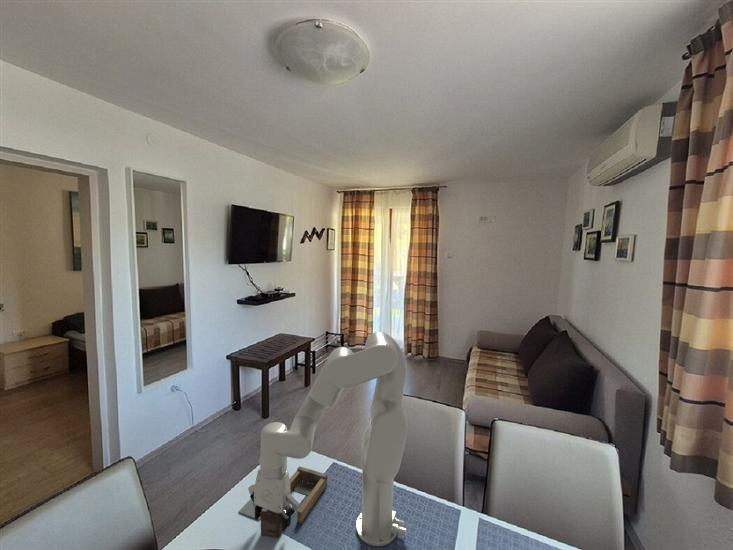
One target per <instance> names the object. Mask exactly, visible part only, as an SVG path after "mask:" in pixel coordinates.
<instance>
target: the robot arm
mask: <svg viewBox="0 0 733 550" xmlns="http://www.w3.org/2000/svg"><path fill="white" fill-rule="evenodd" d="M372 380H376V382H375V387H374V392H373V397H372V401H371V405H370V409H369V411H370V412H369V414H370V422H371V424H370V425H369V426H368V427H367V428H366V429H365V431H364V432H363V434H362V439H361V441H362V443H361V451H362V453H361V455H362V467H361V469H362V470H361V471H362V473H361V475H362V478H361V513H360V514H359V515H358V517H357V519H356V523H355V524H356V526H355V529H356V533H357V535H358V537H359V538H360V539H361V541H362V542H364V543H366V544H367V545H369V546H372V547H383V546H388V545H389V544H390V543H392V542H393V541H395V540H394V539H396V536H397V535H398V534H399V535H400V536H402V537H406V536H407V527H404V526H405V521H404V520H402V519H398V518H397V517H396V511H394V482H395V481H394V480H395V478H396V475H397V474H398V472H399V471H400V468H401V467H400V466H401V464H402V460H403V459H402V458H403V454H404V449H405V445H406V441H407V440H406V439H407V435H408V434H407V433H408V423H407V421H408V420H407V417H406V414H405V412H404V409H403V398H404V393H405V389H406V388H405V386H406V381H407V363H406V359H405V356H404V353H403V350H402V348H401V347H400V345H399V343H397V341H396V340H395V339H394V338H393V337H392V336H391V335H389V334H388V333H386V332H383V331H375V332H372V333H371V334H370V335H369V336H368V338H367V339H366V341H365V345H364V349H362V350H359V351H356V352H354V351H352V350H351V349H350V348H348V347H345V346H339V347H336V348H334V349H333V350H332V351H331V352H330V353H329V355H328V357H327V358H326V360H325V362H324V364H323V366H322V368H321V370H320V372H319V374H318V375H317V377H316V379H315V380H314V383H313V385H312V386H311V388H310V390H309V391H308V393H307V395H306V396H305V397H304V400H303V401H302V404H301V406H300V407H299V409H298V411H297V412H296V414H295V416H294V418H293V421H292V423H291V426H290V428H289V429H288V427H287V426H286V424H285V423H283V422H279V421H275V422H270V423H267V424H266V425H265V426H263V428H262V429H261V432H260V455H259V456H260V458H258V460H257V463H258V464H259V469H258V471H257V473H256V476H255V477H256V478H255V483H253V484H251V485H250V486H249V487H248V488H247V490H248V493H249V495H250V498H249V499H252V501H253V502H254V503H253V506H255V519H254V520H255V521H258V520H257V519H258V518H259V517H260V516H261V515H260V512H261V511H262V509H263V508H265V509H268V510H270V511H273V512H276V513H282V514H283V516H284V517H283V518H282V531H283V532H285V531H286V530H287V528H289V527H290V525H291V523H292V515H294V513H295V512H296V511H297V509H298V508H299V506H300V502H299V501H298V500H296V498H295V497H294V496H293V495H292V494H291V493H292V492H291V490H290V478H291V477H290V474H289V470H288V468H287V467H288V458H291V459H295V460H296V459H297V460H298V459H299V460H300V459H305V458H306V457H308V456H309V455H310V453H311V452H312V449H313V446H314V445H313V444H314V437H315V432H316V428H317V427H318V424H319V422H320V420H321V419H322V417H323V415H324V413H325V411H327V409H328V408H332V407H335V405H336V404H337V403H338V401H339V400H340V397H341V395H342V393H343V391H344V390H345V389H349V388H353V387H356V386H358V385H361V384H364V383H367V382H370V381H372ZM285 507H287V509H288V510H287V512H286V510H285Z"/></svg>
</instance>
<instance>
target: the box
mask: <svg viewBox="0 0 733 550" xmlns="http://www.w3.org/2000/svg"><path fill="white" fill-rule="evenodd" d="M285 510H286V512H287V510H288V509H287V507H285ZM260 515H261V519H260V535H261V536H265V537H271V538H277V539H280V537H281V536H282V535H283V534H282V533H283V532H284V531H282V518H283V517H284V516H283V514H282V513H276V512H273V511H270V510H268V509H265V508H263V509H262V511H261V512H260Z"/></svg>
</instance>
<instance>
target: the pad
mask: <svg viewBox="0 0 733 550" xmlns="http://www.w3.org/2000/svg"><path fill="white" fill-rule="evenodd" d="M253 503H254V502H253V501H252V499H251V498H249V500H248V501H247V502H246V503H245V504H244V505H243V506H242V507H241V509H239V510H238V514H240V515H244V516H247V517H249V518H251V519H254V520H255V506H253ZM256 521H261V516H260V517H259V518H258V519H257V520H256Z"/></svg>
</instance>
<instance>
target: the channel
mask: <svg viewBox="0 0 733 550" xmlns="http://www.w3.org/2000/svg"><path fill="white" fill-rule="evenodd" d="M289 478H290V490H291V493H292V491H293V492H296V493H300V494H302V495H306V496H307V497H306V499H304V501H303V503H302V504H301V506H300V507H298V510H296V511H297V513H296V514H297V516H296V517H297V523H300V524H303V522H304V520H305V519H306V517H307V516H308V514H309V513H310V511H311V510H312V509H313V507H314V505H315V504H316V502H317V501H318V499H319V498H320V497H321V495H322V494H323V492H324V490H325V489H326V488H327V486H328V474H327V473H323V472H321V471H318V470H313V469H310V468H306V467H303V466H301V465H300V466H298V468H297V469H296V471H295V472H294V473H293V475H291V477H289Z"/></svg>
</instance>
